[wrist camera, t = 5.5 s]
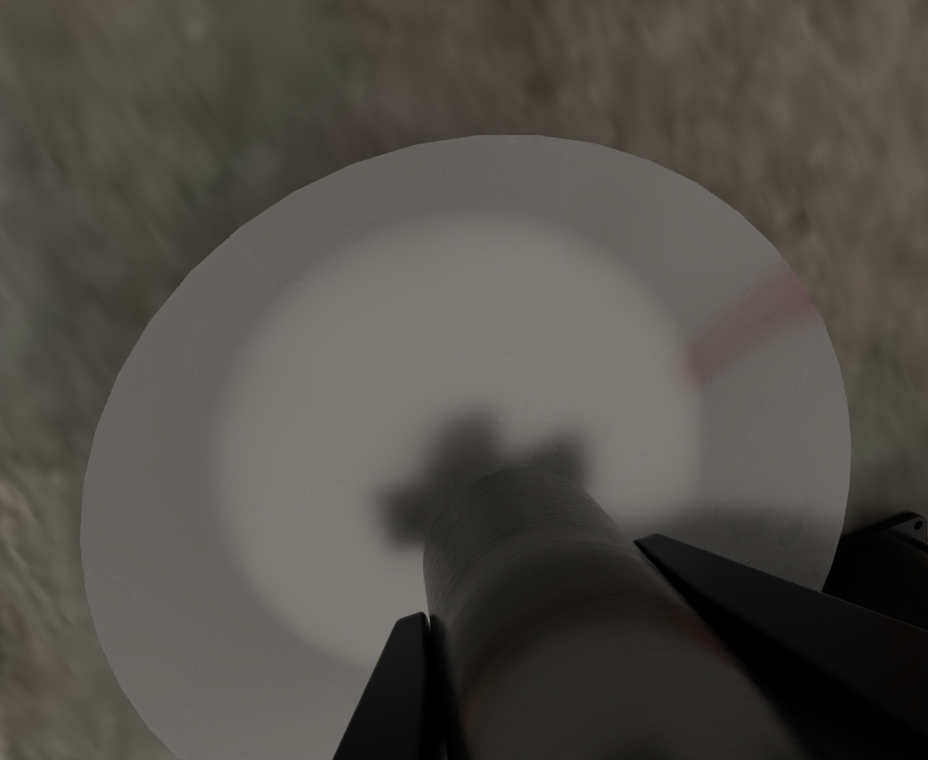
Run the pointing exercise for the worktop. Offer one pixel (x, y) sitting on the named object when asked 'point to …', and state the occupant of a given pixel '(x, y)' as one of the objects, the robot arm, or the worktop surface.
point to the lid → (466, 461)
